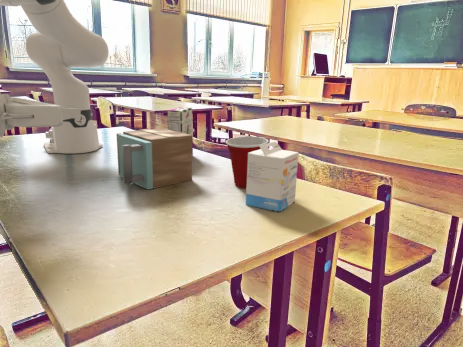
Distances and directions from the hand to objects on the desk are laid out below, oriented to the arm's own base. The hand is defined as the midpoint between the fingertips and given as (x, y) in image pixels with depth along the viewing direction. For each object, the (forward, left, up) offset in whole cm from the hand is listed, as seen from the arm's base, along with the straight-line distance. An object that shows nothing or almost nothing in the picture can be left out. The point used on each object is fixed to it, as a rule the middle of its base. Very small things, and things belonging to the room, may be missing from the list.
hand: (69, 111), depth 72 cm
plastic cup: (+13, +38, -20) cm, 44 cm away
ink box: (+26, +33, -20) cm, 46 cm away
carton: (-6, +24, -19) cm, 31 cm away
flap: (-6, +14, -19) cm, 24 cm away
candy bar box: (-21, +42, -20) cm, 50 cm away
